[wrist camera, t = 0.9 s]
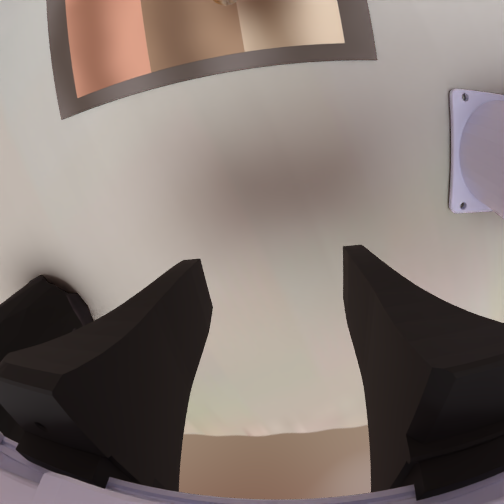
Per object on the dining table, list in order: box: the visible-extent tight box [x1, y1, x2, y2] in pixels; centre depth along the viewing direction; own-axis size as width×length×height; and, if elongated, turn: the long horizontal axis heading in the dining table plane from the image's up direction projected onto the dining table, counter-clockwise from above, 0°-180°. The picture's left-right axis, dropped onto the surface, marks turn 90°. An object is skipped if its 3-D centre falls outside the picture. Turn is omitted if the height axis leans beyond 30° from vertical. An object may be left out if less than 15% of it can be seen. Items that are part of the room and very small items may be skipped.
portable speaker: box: [0, 275, 93, 443], centre depth 17 cm, size 9×9×20 cm
